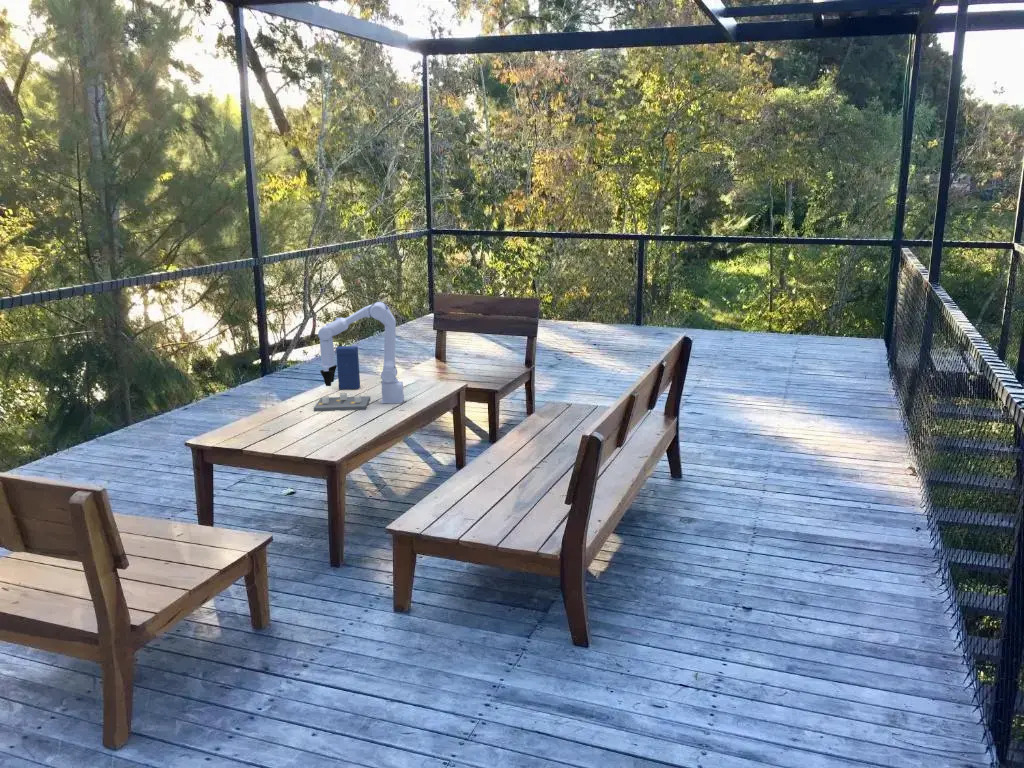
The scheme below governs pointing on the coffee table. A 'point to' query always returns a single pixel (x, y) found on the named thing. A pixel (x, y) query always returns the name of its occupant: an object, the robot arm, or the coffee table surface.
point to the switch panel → (342, 404)
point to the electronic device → (348, 367)
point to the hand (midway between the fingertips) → (329, 384)
